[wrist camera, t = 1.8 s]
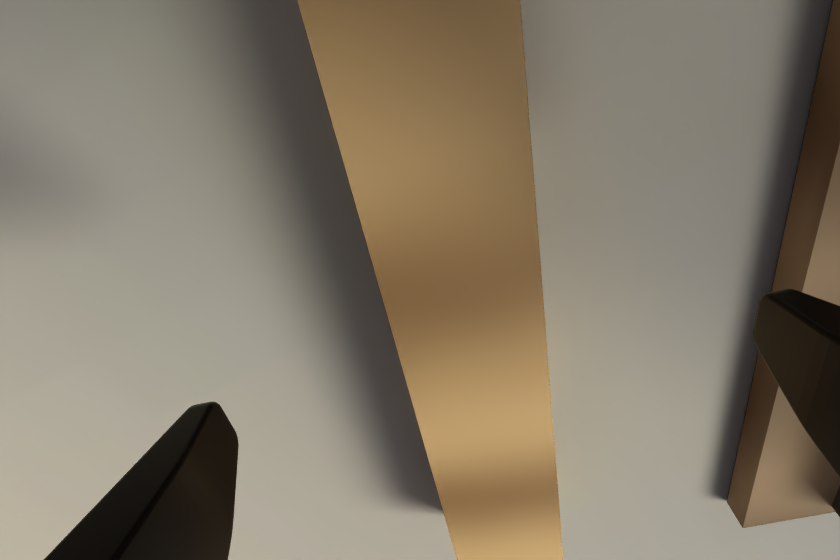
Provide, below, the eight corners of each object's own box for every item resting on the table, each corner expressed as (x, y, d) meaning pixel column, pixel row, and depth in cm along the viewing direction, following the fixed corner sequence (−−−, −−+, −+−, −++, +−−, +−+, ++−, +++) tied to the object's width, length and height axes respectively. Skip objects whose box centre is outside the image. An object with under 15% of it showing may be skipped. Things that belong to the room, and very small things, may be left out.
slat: (539, 491, 19) (564, 579, 16) (455, 507, 19) (467, 595, 16) (424, -570, 7) (453, -865, 4) (189, -505, 7) (82, -753, 4)
